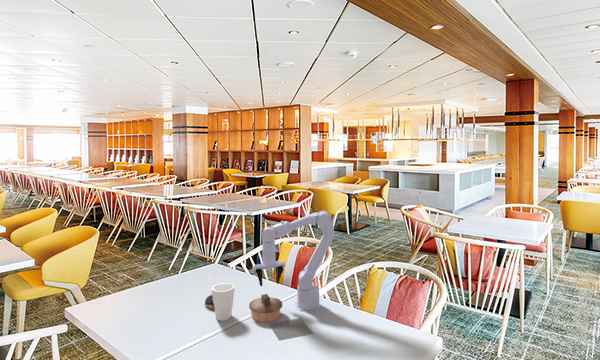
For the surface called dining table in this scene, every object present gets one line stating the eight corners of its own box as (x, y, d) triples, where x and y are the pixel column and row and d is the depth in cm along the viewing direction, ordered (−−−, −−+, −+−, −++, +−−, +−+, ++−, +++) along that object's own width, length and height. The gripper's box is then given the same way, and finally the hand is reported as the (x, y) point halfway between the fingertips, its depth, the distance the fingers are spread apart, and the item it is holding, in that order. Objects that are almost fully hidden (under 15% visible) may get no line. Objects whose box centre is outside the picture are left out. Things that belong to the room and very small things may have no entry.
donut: (232, 300, 176) (232, 292, 175) (225, 311, 164) (225, 302, 164) (210, 299, 177) (209, 291, 176) (201, 310, 165) (200, 301, 165)
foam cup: (229, 323, 152) (228, 292, 151) (208, 321, 154) (207, 290, 153) (238, 313, 161) (237, 284, 160) (218, 311, 163) (217, 282, 162)
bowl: (275, 307, 167) (275, 297, 166) (283, 319, 156) (283, 308, 155) (248, 312, 163) (248, 302, 162) (255, 324, 151) (255, 313, 151)
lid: (276, 297, 167) (276, 288, 167) (286, 309, 154) (286, 300, 154) (245, 301, 162) (245, 292, 162) (253, 315, 149) (253, 305, 149)
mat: (300, 318, 156) (300, 317, 156) (313, 334, 143) (313, 333, 143) (268, 324, 151) (268, 323, 151) (279, 341, 138) (279, 340, 138)
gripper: (255, 258, 159) (255, 289, 161) (287, 255, 165) (287, 285, 166) (251, 254, 166) (251, 283, 167) (282, 251, 171) (282, 279, 172)
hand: (269, 284), depth 167 cm, fingers open, 7 cm apart
